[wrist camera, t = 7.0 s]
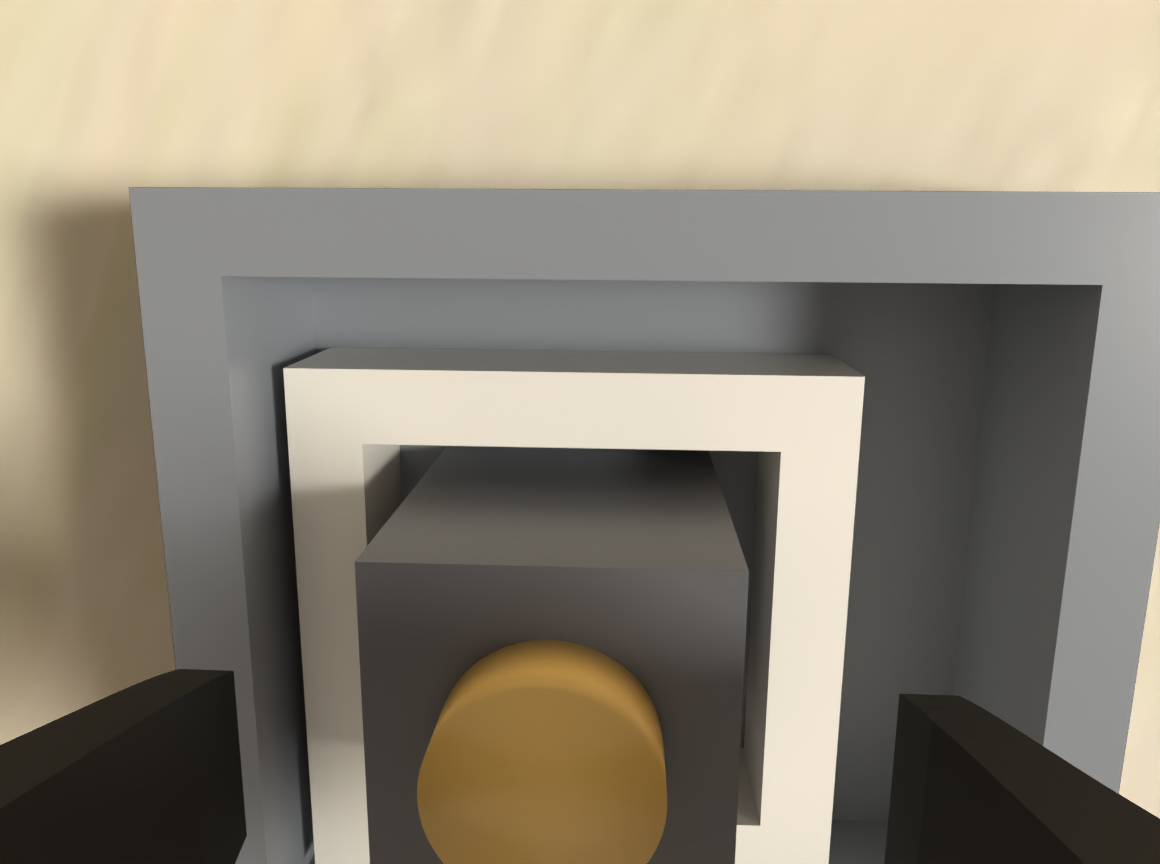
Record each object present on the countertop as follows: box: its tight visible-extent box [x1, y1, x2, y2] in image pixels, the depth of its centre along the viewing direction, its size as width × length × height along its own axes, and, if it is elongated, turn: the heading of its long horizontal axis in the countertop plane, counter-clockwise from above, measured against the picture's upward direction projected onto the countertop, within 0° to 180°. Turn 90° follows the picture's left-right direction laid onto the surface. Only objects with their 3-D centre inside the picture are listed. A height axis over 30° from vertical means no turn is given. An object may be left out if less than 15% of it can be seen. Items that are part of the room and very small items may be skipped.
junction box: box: [129, 187, 1160, 864], centre depth 13 cm, size 12×11×4 cm
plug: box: [355, 446, 749, 864], centre depth 12 cm, size 4×4×6 cm
